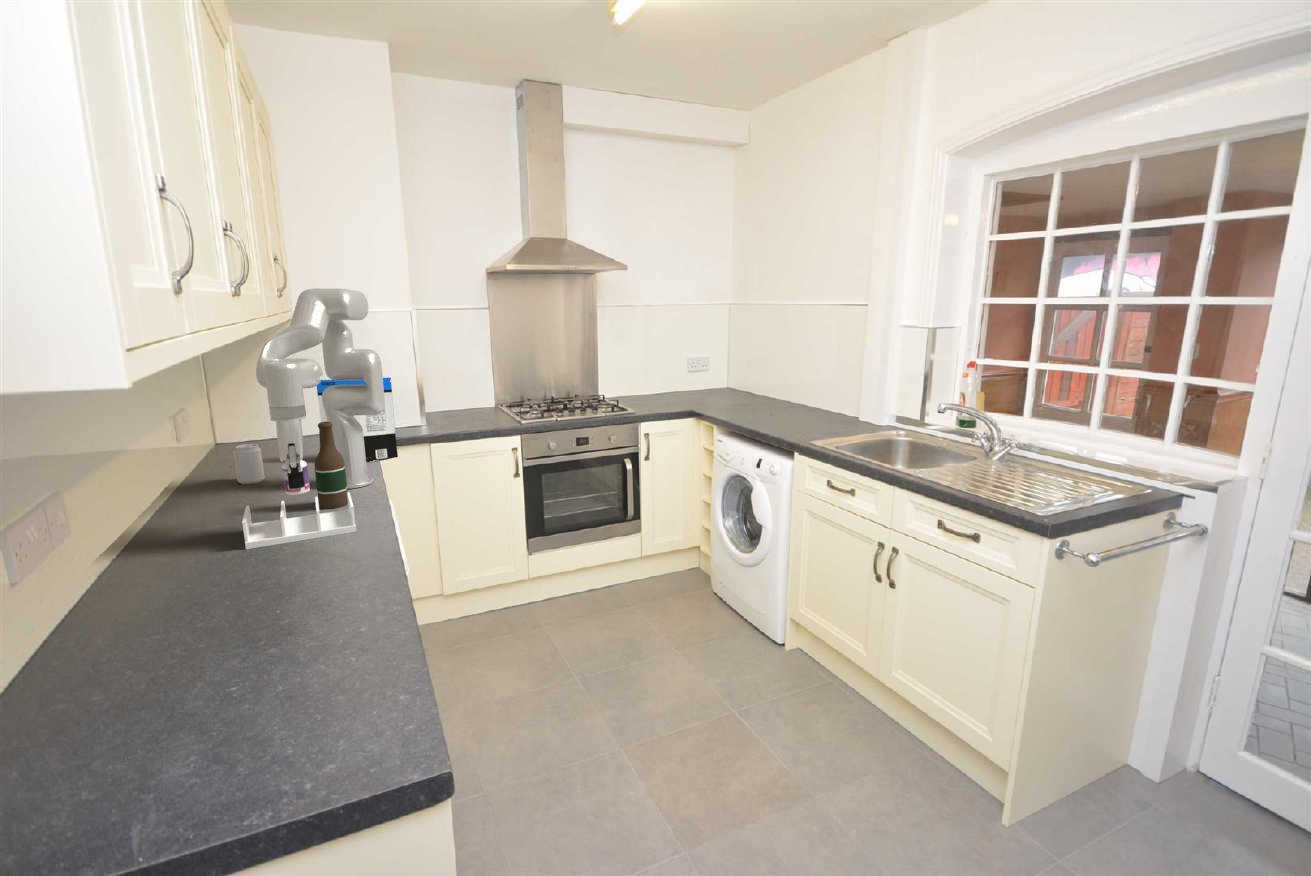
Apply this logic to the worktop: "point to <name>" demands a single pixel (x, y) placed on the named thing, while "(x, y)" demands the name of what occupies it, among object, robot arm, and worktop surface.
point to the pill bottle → (305, 477)
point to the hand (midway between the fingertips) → (296, 484)
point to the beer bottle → (330, 471)
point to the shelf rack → (297, 526)
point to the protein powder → (370, 422)
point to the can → (248, 464)
